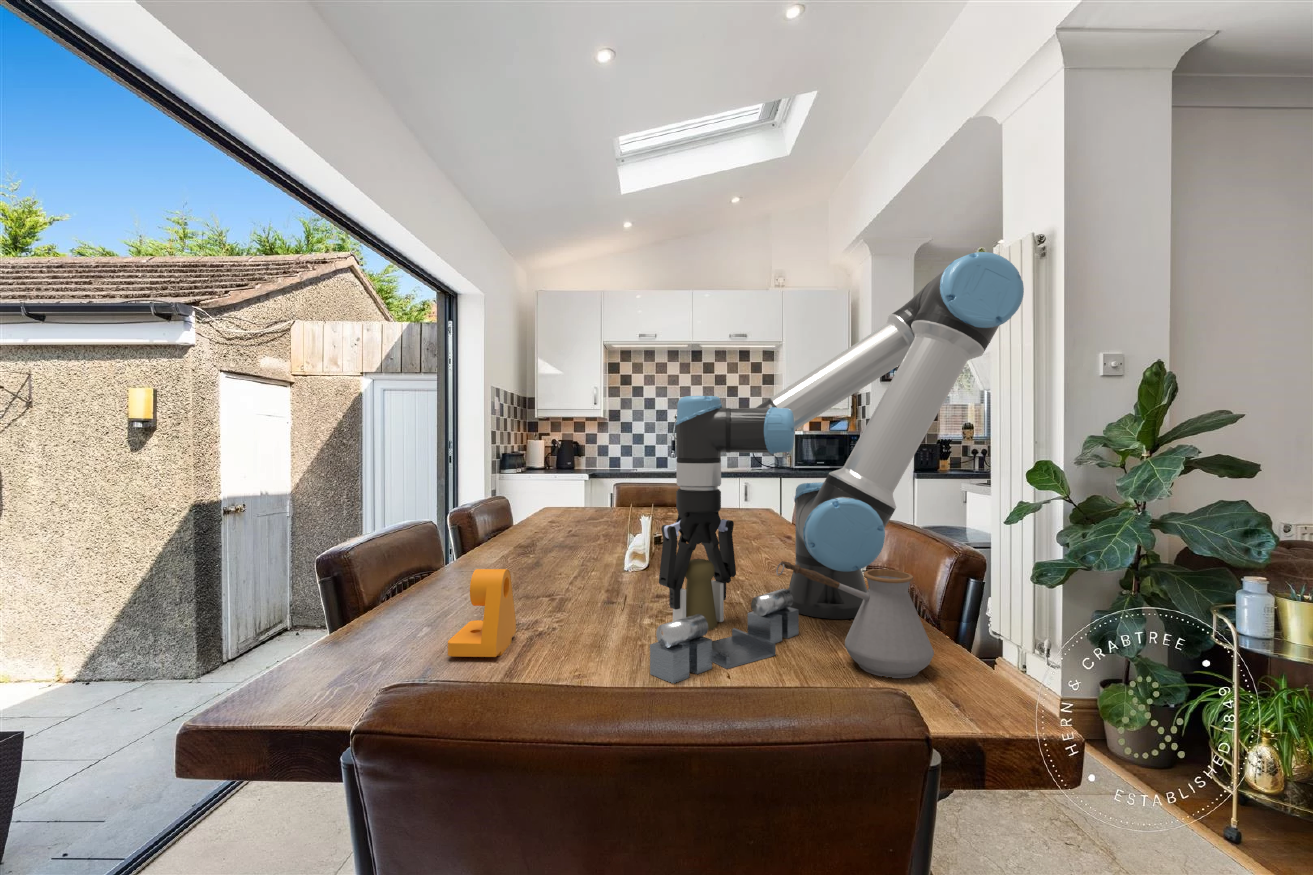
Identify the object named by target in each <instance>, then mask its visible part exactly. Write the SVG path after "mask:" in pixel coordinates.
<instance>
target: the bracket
mask: <svg viewBox="0 0 1313 875" xmlns="http://www.w3.org/2000/svg"><path fill="white" fill-rule="evenodd" d="M469 598H470V603H471V605H472V606H473V607H484V608H483V609H484V610H483V620H481V619H479V620H478V619H477V620H471V621H468V622H467V623H466V624H465V625H464V626H463V627H462V628H461V629H460V630H458V631H457V632H456V633H455V634H454V635H453V636H452V637H451V638H449V640H447V656H448V657H469V658H470V657H471V658H472V657H473V658H477V657H479V658H484V657H485V658H496V657H497V656H498V657H499V656H502V655H503V654H505V651H506V650H507V649H508V648H509V647H510V645H511V644H512V642H513V641H512V638H513V637H514V635H515V634H516V633H517V618H516V612H515V610H516V609H515V602H514V592H513V582H512V575H511V572H510V569H508V568H477V569H474V571H473V573H472V575H471V578H470V583H469Z"/></svg>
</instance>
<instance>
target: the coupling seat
mask: <svg viewBox="0 0 1313 875" xmlns="http://www.w3.org/2000/svg"><path fill="white" fill-rule="evenodd" d="M776 644H777V643H776ZM776 644H773V643H771V642H768V641H766V640H763V639H761V638H758V637H756V636H753V635H751V634H748V632H746V631H744V630H741V629H739V628H736V627H733V628H732V629H731V636H728V637H723V638H720V639H715V640H712V663H714V664H715V665H718V666H720V667H722V668H724V669H725V670H728V669H731V668H735V667H738V666H743V665H746V664H749V663H753V662H757V661H760V660H764V659H768V658H772V657H776V653H777V652H776V650H777V649H776Z"/></svg>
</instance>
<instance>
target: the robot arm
mask: <svg viewBox="0 0 1313 875" xmlns="http://www.w3.org/2000/svg"><path fill="white" fill-rule="evenodd" d="M1024 291H1025V286H1024V281H1023V280H1022V277H1021V275H1020V272H1019V270H1018V269H1017V266H1015V264H1013V263H1012V262H1011V261H1010V260H1009V259H1007V258H1005V257H1004V256H1001V255H1000V254H997V253H994V252H988V251H979V252H978V251H977V252H972V253H969V254H965V255H964V256H961V257H959V258H957V259H955V260H953V261H952V262H951V263H949V265H947V267H946V268H945V269H944V270H943V271H942V272H940V273H939V274H938V275H937V276H935V277H934V278H933V279H931V280H930V281H929V282H928V283H927V284H926V285H925V286H923V288H922V289H921V290H919V291H918V293H916V294H915V296H914V297H912V298H910V300H908V302H906V303H905V304H904V305H903V306H902V307H900V308H899V309H897V310H895V311H894V312H893V313H891V314H890V315H889V316H887V322H886V324H884V325H883V326H881V327H880V328H878V329H876V330H874V331H873V332H871V333H870V334H868V335H867V336H866V337H864V338H862V339H861V340H859V341H858V342H856V343H854V344H853V345H851V346H850V347H848V348H847V349H845V350H844V351H842V352H841V353H839V354H837V355H836V356H834V357H833V358H831V359H829V360H828V361H827V362H825V363H823V364H822V365H820V366H818V367H816V368H815V369H814V370H813V371H810V372H809V373H808V374H806V375H804V376H803V377H802V378H800V379H798V380H797V381H795V382H794V383H792V384H790V385H789V386H787V387H786V388H784V389H782V390H781V391H780V392H778V393H776V394H775V395H773V396H772V397H770V398H769V399H767V400H766V401H764V402H762V403H761V404H759V405H758V406H756V407H740V408H738V407H737V408H733V407H732V408H731V407H728V408H727V407H723V404H722V401H721V398H720V397H719V396H716V395H689V396H688V395H687V396H681V397H680V398H679V400H678V401H677V403H676V404H677V407H676V420H675V421H676V422H675V436H676V437H675V440H676V444H675V446H676V448H675V450H676V485H677V486H678V487H679V488H678V489H677V490H676V492H675V494H676V497H675V498H676V505H675V506H676V510H677V517H676V521H675V522H674V523H671V524H663V525H662V526H661V535H662V548H661V557H660V566H659V574H658V575H659V577H658V583H659V585H661V586H664V587H666V588H668V590H669V598H668V599H669V604H668V605H669V608H670V609H672V621H676V620H679V619H683V618H686V588H683V585H684V582H685V579H686V577H685V575H686V572H687V569H688V565H689V562H690V560H692V555H693V552H694V551H695V550H696V549H697V545H700V544H702V546H703V547H704V549H705V553H706V557H707V560H709V561H711V562H712V564H713V565H714V569H715V573H714V576H713V578H714V580H712V579H711V582H712V590H713V597H714V605H715V612H716V620H717V622H719V623H722V622H724V617H725V616H724V613H725V612H724V610H725V609H724V601H725V600H727V584H730V583H731V581H732V578H735V577H736V575H737V569H736V568H737V567H736V560H735V549H734V548H735V547H734V540H733V539H734V538H733V532H734V526H735V525H734V524H735V523H734V520H730V519H726V518H725V519H724V518H721V517H720V514H719V512H720V511H721V509H722V491H721V490H720V489H719V487H720V486H721V485H722V458H721V457H722V453H727V454H728V453H729V454H730V453H743V454H744V453H745V454H746V453H748V454H749V453H750V454H772V455H774V454H780V453H781V454H782V453H783V454H784V453H789V452H791V451H792V450H793V449H794V444H795V431H797V429H799V428H801V427H803V426H804V425H805V424H808V423H809V422H811V421H813V420H814V419H815V418H817V417H819V416H820V415H822V414H823V413H825V412H827V411H828V410H830V409H831V408H833V407H834V406H837V405H838V404H840V403H841V402H843V401H844V400H846V399H847V398H849V397H850V396H853V395H854V394H856V393H857V392H859V391H861V390H862V389H863V388H865V387H867V386H868V385H870V384H872V383H873V382H875V381H876V380H879V379H880V378H882V376H885V375H886V374H887V373H889V372H891V371H892V370H894V369H895V368H897V367H898V368H897V370H896V371H895V373H894V375H893V377H892V379H891V380H890V383H889V384H888V386H887V387H886V390H885V392H884V393H883V395H882V396H881V399H879V400H880V401H879V402H878V404H877V406H876V407H875V409H874V411H873V414H872V415H871V417H870V418H869V420H868V422H867V424H866V426H865V428H864V429H863V431H862V433H861V434H860V436H859V438H858V440H857V441H856V443H855V445H854V447H853V449H852V451H851V453H850V455H849V456H848V458H847V459H846V461H845V463H844V465H843V466H842V467H841V468H839V469H836V470H833V471H830V472H829V473H828V474H827V476H826V478H825V480H824V481H823V482H804V483H800V484H798V485H797V486H796V488H795V496H794V497H793V500H794V503H795V544H794V545H795V565H799V566H800V567H801V568H804V569H808V570H812V571H815V572H818V573H820V574H822V575H824V576H826V577H828V578H831V579H833V580H835V581H837V582H839V583H840V584H843V585H846V586H849V587H851V588H854V589H857V590H859V591H862V592H865V593H867V590H868V588H867V585H866V584H867V583H866V581H865V577H864V573H863V571H862V569H864V568H866V567H868V566H870V565H871V564H872V563H873V562H874V561H876V559H877V558H878V557H879V556H880V554H881V552H882V550H883V548H884V544H885V540H886V531H885V528H886V527H887V525H888V523H889V521H890V519H891V518H892V516H893V514H894V513H895V511H896V509H897V505H896V501H895V499H894V491H895V489H897V486H898V485H899V483H900V482H901V480H902V477H903V476H904V474H905V472H906V471H907V469H908V467H909V466H910V463H911V461H912V460H913V458H914V457H915V455H916V453H917V451H918V449H919V447H920V445H921V444H922V442H923V440H924V438H925V437H926V435H927V433H928V432H929V429H930V427H931V426H932V425H933V423H934V421H935V419H936V417H937V416H938V414H939V412H940V410H941V409H942V407H943V405H944V403H945V401H946V399H947V397H948V395H949V394H950V392H951V391H952V389H953V387H954V386H955V384H956V382H957V380H958V378H959V377H960V375H961V373H962V371H963V369H964V367H965V366H966V364H967V363H968V361H970V360H973V359H976V358H979V357H981V356H983V354H985V351H986V350H987V348H988V346H989V344H990V343H991V341H992V339H993V338H994V336H995V334H996V332H997V331H998V329H999V327H1000V326H1001V325H1004V324H1005V323H1006V322H1008V321H1009V320H1010V319H1012V317H1014V315H1015V314H1016V313H1017V312H1018V310H1019V308H1020V307H1021V304H1022V303H1023V300H1024V299H1023V298H1024V295H1025V292H1024ZM716 532H717V533H716ZM678 537H679V540H678ZM786 589H787V590H789V591H790V592H791V594H792V596H793V603H792V605H791V606H790V608H795V609H799V614H801V615H804V616H808V617H813V618H822V619H831V620H833V619H834V620H846V619H847V620H848V619H849V620H850V619H855V617H856V615H857V612H858V610H859V608H860V606H861V604H862V601H863V599H862V598H859V597H857V596H855V595H852V594H850V593H848V592H845V591H843V590H841V589H838V588H834V587H831V586H828V585H825V584H822V583H819V582H816V581H813V580H810V579H809V578H807V577H805V576H804V575H802V574H800V573H794V571H793V570H792V574H791V578H790V581H789V586H788V588H786Z"/></svg>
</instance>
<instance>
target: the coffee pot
mask: <svg viewBox="0 0 1313 875" xmlns="http://www.w3.org/2000/svg"><path fill="white" fill-rule="evenodd" d="M780 566H782V569H781V571H780V573H779V568H780ZM785 569H786V570H792V572H793V571H794V573H800V574H802V575H804V576H805V577H807V578H809V579H810V580H813V581H816V582H819V583H822V584H825V585H828V586H831V587H834V588H838V589H841V590H843V591H845V592H848V593H850V594H852V595H855V596H857V597H859V598H862V599H863V601H862V604H861V606H860V608H859V610H858V612H857V615H856V617H855V618H853V620H852V623H851V626H850V628H849V630H848V632H847V635H846V637H845V639H844V647H845V649H846V652H847V653H848V655H849V656H850V658H851V659H852V660H853V661H854V662H855V663H857V664H858V666H859V668H860V669H862V670H863V671H865V672H867V673H869V674H872V675H874V676H879V677H882V676H886V677H885V678H888V677H892V679H909V678H913V677H915V676H917V675H918V674H919V672H921V671H922V670H924V669H925V668H927V667H928V666H929V665H930V663H931V662H932V660H933V657H934V655H935V652H934V651H935V650H934V649H933V646H932V643H931V642H930V640H929V636H928V634H927V632H926V630H925V628H924V625H923V622H922V620H921V618H920V616H919V614H918V611H917V609H916V607H915V604H914V602H913V599H912V598H911V595H910V593H909V588H910V584H911V582H912V581H913V580H914V576H913V575H912V574H911V573H908V572H904V571H901V570H894V569H880V568H874V569H869V570H865V571H864V572H863V577H864V578H865V579H866V582H867V585H868V588H867V593H865V592H862V591H859V590H857V589H854V588H851V587H849V586H846V585H843V584H840V583H839V582H837V581H835V580H833V579H831V578H828V577H826V576H824V575H822V574H820V573H818V572H815V571H812V570H808V569H804V568H801V567H800V566H799V565H794V564H792V563H791V562H789V561H783V560H781V562H780V563H778V565H777V567H776V571H775V572H776V573H775V574H776V576H778V577H779V576H781V575H782V574H783V573H784V570H785ZM912 676H913V677H912Z"/></svg>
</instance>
